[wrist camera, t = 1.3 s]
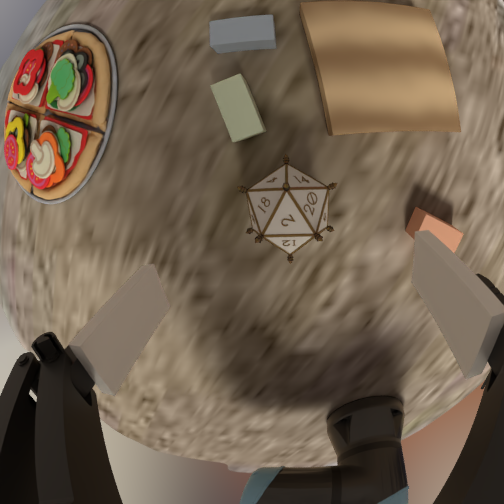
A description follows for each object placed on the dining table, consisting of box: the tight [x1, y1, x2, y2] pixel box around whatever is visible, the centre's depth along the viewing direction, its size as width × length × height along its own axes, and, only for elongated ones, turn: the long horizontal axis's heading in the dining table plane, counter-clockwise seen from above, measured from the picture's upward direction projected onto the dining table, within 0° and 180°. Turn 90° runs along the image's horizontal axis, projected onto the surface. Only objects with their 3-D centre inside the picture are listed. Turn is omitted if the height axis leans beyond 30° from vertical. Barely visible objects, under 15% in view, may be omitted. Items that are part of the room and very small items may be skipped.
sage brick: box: [210, 74, 267, 142], centre depth 23 cm, size 6×3×3 cm, turn 20°
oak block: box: [300, 1, 461, 136], centre depth 19 cm, size 14×14×3 cm
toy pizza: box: [4, 24, 117, 204], centre depth 25 cm, size 28×28×4 cm
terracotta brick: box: [405, 207, 463, 253], centre depth 25 cm, size 6×3×3 cm, turn 74°
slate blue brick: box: [210, 15, 277, 54], centre depth 20 cm, size 6×3×3 cm, turn 92°
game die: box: [237, 154, 337, 264], centre depth 24 cm, size 9×8×10 cm
